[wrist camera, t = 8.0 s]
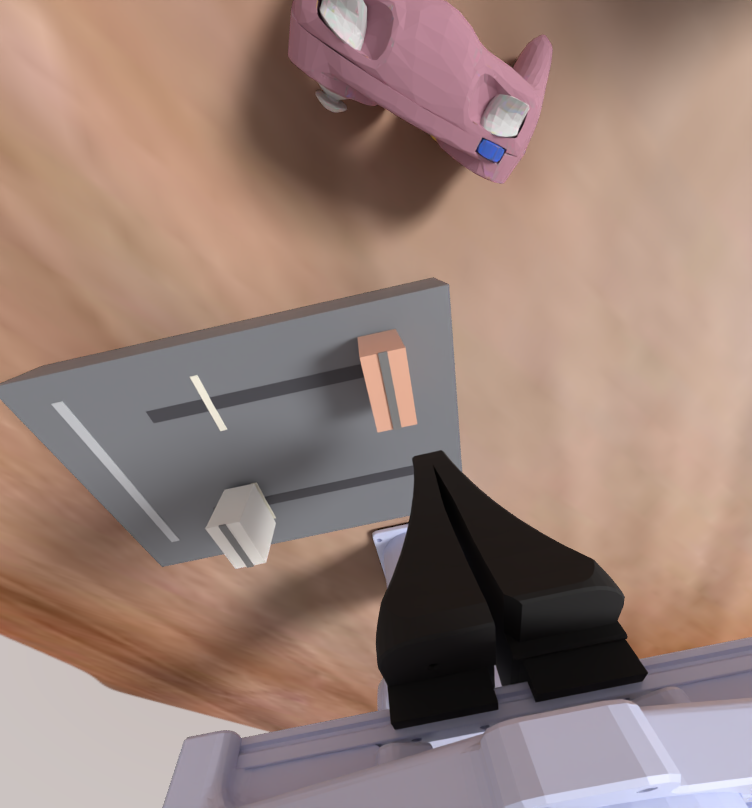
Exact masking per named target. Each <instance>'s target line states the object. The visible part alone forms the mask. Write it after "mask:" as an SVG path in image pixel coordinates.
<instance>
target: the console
mask: <svg viewBox="0 0 752 808" xmlns="http://www.w3.org/2000/svg"><path fill="white" fill-rule="evenodd" d="M392 329H396V331H397V333H398V334H399V336H400V338H401V340H402V342H403V344H404V346H405V348H406V354H407V360H408V367H409V373H410V380H411V386H412V393H413V399H414V406H415V412H416V418H417V424H416V425H411V426H406V427H402V429H398V430H394V429H392V430H388V431H383V432H377V428H376V424H375V420H374V416H373V411H372V407H371V403H370V399H369V395H368V391H367V387H366V382H365V378H364V374H363V370H362V366H361V362H360V357H359V348H358V338H357V337H361V336H365V335H370V334H374V333H379V332H383V331H388V330H392ZM0 399H1V400H2V401H3V402H4V403H5V404H6V406H7V407H8V408H9V409H10V410H11V411H12V412H13V413H14V414H15V415H16V416H17V417H18V418H19V419H20V420H21V421H22V422H23V423H24V424H25V425H26V426H27V427H28V428H29V429H30V430H31V431H32V432H33V434H34V435H35V436H36V437H37V438H38V439H39V440H40V441H41V442H42V443H43V444H44V445H45V446H46V447H47V448H48V449H49V450H50V451H51V452H52V453H53V454H54V455H55V456H56V457H57V458H58V459H59V460H60V461H61V463H62V464H63V465H64V466H65V467H66V468H67V469H68V470H69V471H70V472H71V473H72V474H73V475H74V476H75V477H76V478H77V479H78V480H79V481H80V482H81V483H82V484H83V485H84V486H85V487H86V488H87V489H88V491H89V492H90V493H91V494H92V495H93V496H94V497H95V498H96V499H97V500H98V501H99V502H100V503H101V504H102V505H103V506H104V507H105V508H106V509H107V510H108V511H109V512H110V513H111V514H112V515H113V516H114V517H115V519H116V520H117V521H118V522H119V523H120V524H121V525H122V526H123V527H124V528H125V529H126V530H127V531H128V532H129V533H130V534H131V535H132V536H133V537H134V538H135V539H136V540H137V541H138V542H139V543H140V544H141V545H142V547H143V548H144V549H145V550H146V551H147V552H148V553H149V554H150V555H151V556H152V557H153V558H154V559H155V560H156V561H157V562H158V563H159V564H160V565H161V566H162V567H164V566H169V565H174V564H178V563H183V562H188V561H193V560H198V559H203V558H207V557H212V556H217V555H222V554H224V553H223V552H222V550H221V549H220V548H219V546H218V545H217V544H216V542H215V541H214V540H213V538H212V537H211V536H210V534H209V533H208V532H207V530H206V529H205V528H206V526H207V524H208V522H209V520H210V518H211V516H212V514H213V512H214V510H215V508H216V506H217V504H218V502H219V500H220V498H221V496H222V494H223V492H224V490H225V489H230V488H235V487H240V486H244V485H249V484H254V485H255V486H256V488H257V490H258V492H259V494H260V495H261V497H262V499H263V501H264V503H265V504H266V506H267V508H268V510H269V511H270V513H271V515H272V517H273V519H274V520H275V522H276V525H275V529H274V533H273V537H272V541H271V544H275V543H280V542H285V541H289V540H294V539H299V538H304V537H309V536H313V535H318V534H323V533H328V532H333V531H338V530H342V529H347V528H352V527H357V526H362V525H366V524H371V523H376V522H381V521H386V520H391V519H395V518H400V517H405V516H410V513H411V506H412V499H413V488H414V467H413V462H412V458H413V457H414V456H417V455H421V454H426V453H430V452H435V451H439V450H442V451H444V452H445V454H446V455H447V456H448V457H449V459H450V460H451V461H452V462H453V463H454V464H455V465H456V466H457V468H458V469H459V470H460V471H461V472H462V463H461V449H460V435H459V420H458V406H457V392H456V377H455V363H454V349H453V334H452V320H451V306H450V292H449V284H447V283H445V282H443V281H440V280H438V279H436V278H434V277H433V278H429V279H425V280H420V281H416V282H411V283H407V284H402V285H398V286H394V287H389V288H385V289H380V290H376V291H371V292H367V293H363V294H358V295H354V296H349V297H345V298H341V299H336V300H332V301H327V302H323V303H318V304H314V305H310V306H305V307H301V308H296V309H292V310H287V311H283V312H279V313H274V314H270V315H265V316H261V317H256V318H252V319H248V320H243V321H239V322H234V323H230V324H226V325H221V326H217V327H212V328H208V329H203V330H199V331H195V332H190V333H186V334H181V335H177V336H172V337H168V338H164V339H159V340H155V341H150V342H146V343H141V344H137V345H133V346H128V347H124V348H119V349H115V350H110V351H106V352H102V353H97V354H93V355H88V356H84V357H80V358H75V359H71V360H66V361H62V362H57V363H53V364H49V365H44V366H41V367H38V368H36V369H34V370H31V371H29V372H26V373H24V374H22V375H19V376H17V377H14V378H12V379H10V380H7V381H5V382H2V383H0Z"/></svg>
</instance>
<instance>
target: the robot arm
mask: <svg viewBox="0 0 752 808" xmlns="http://www.w3.org/2000/svg"><path fill="white" fill-rule="evenodd" d="M412 462H413V467H414V488H413V499H412V506H411V513H410V518H409V523H408V524H405V525H400V526H396V527H391V528H386V529H381V530H376V531H374V532H373V533H372V536H373V540H374V544H375V547H376V550H377V553H378V556H379V559H380V562H381V565H382V568H383V571H384V575H385V578H386V584H387V590H386V592H385V595H384V597H383V599H382V602H381V606H380V612H379V617H378V624H377V632H376V652H377V664H378V669H379V670H380V672H381V674H382V676H383V679H382V680H381V682H380V684H379V686H378V711H375V712H370V713H365V714H360V715H355V716H350V717H345V718H340V719H335V720H330V721H325V722H320V723H315V724H310V725H305V726H300V727H295V728H290V729H285V730H279V731H274V732H269V733H264V734H259V735H255V736H249V737H244V738H241V737H240V736H239V735H238V734H237V733H236V732H233V731H227V730H224V731H217V732H212V733H207V734H202V735H196V736H191V737H188V738H187V739H186V740H184V743H183V745H182V749H181V752H180V755H179V758H178V761H177V764H176V767H175V770H174V774H173V776H172V780H171V783H170V786H169V789H168V792H167V795H166V798H165V801H164V804H163V807H162V808H752V637H749V638H744V639H739V640H734V641H729V642H724V643H719V644H714V645H708V646H703V647H698V648H693V649H688V650H683V651H678V652H673V653H668V654H663V655H658V656H653V657H648V658H643V659H639V658H638V657H637V656H636V654H635V653H634V651H633V650H632V648H631V647H630V645H629V644H628V643H627V641H626V640H625V639H627V634H626V632H625V631H624V629H623V628H622V627H621V625H620V624H619V622H618V621H617V620H618V618H619V615H620V613H621V610H622V608H623V605H624V598H625V597H624V595H623V593H622V591H621V590H620V589H619V587H618V586H617V585H616V584H615V582H614V581H613V580H612V579H611V577H610V576H609V575H608V574H607V573H606V572H605V571H604V570H603V569H602V568H601V567H600V566H599V565H598V564H597V562H596V561H595V560H593V559H591V558H589V557H587V556H585V555H583V554H581V553H579V552H577V551H575V550H573V549H571V548H568V547H566V546H564V545H562V544H561V543H559V542H557V541H555V540H553V539H552V538H550V537H548V536H546V535H544V534H543V533H541V532H539V531H538V530H536V529H535V528H533V527H531V526H530V525H528V524H526V523H525V522H523V521H521V520H520V519H518V518H517V517H516V516H514V515H513V514H511V513H510V512H508V511H507V510H506V509H504V508H503V507H501V506H500V505H499V504H497V503H496V502H495V501H494V500H492V499H491V498H490V497H489V496H487V495H486V494H485V493H484V492H483V491H482V490H480V489H479V488H478V487H477V486H476V485H475V484H474V483H473V482H472V481H471V480H469V479H468V478H467V477H466V476H465V475H464V474H463V473H462V472H461V471H460V470H459V469H458V468H457V466H456V465H455V464H454V463H453V462H452V461H451V460H450V459H449V457H448V456H447V455H446V454H445V452H444V451H442V450H439V451H435V452H430V453H426V454H421V455H417V456H414V457H413V458H412Z"/></svg>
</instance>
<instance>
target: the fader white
mask: <svg viewBox="0 0 752 808" xmlns="http://www.w3.org/2000/svg"><path fill="white" fill-rule="evenodd" d="M275 525H276V522H275V520H274V519H273V517H272V515H271V513H270V511H269V510H268V508H267V506H266V504H265V503H264V501H263V499H262V497H261V495H260V494H259V492H258V490H257V488H256V486H255V485H254V484H249V485H244V486H240V487H235V488H230V489H225V490H224V492H223V494H222V496H221V498H220V500H219V502H218V504H217V506H216V508H215V510H214V512H213V514H212V516H211V518H210V520H209V522H208V524H207V526H206V528H205V529H206V530H207V532H208V533H209V534H210V536H211V537H212V538H213V540H214V541H215V542H216V544H217V545H218V546H219V548H220V549H221V550H222V552H223V553H224V554H225V556H226V557H227V558H228V560H229V561H230V562H231V563H232V565H233V566H234V567H235V569H238V568H242V567H247V568H248V567H253V566H254V565H257V564H262V563H266V561H267V557H268V553H269V549H270V545H271V541H272V537H273V533H274V529H275Z"/></svg>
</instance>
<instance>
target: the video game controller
mask: <svg viewBox="0 0 752 808" xmlns="http://www.w3.org/2000/svg"><path fill="white" fill-rule="evenodd" d="M552 51H553V50H552V44H551V43H550V41H549V39H548V38H547V37H546V36H545V35H540V36H538V37H536V38H534V39H533V40H532V41H531V42H529V43H528V44H527V45H526V47H525V48H524V50H523V51H522V53H521V54H520V56H519V57H518V59H517V61H516V63H515V65H514V67H513V68H512V67H510V66H509V65H508V64H506V63H505V62H503V61H502V60H500V59H499V58H498V57H496V56H495V55H493V54H492V53H490V52H489V51H488V50H487V49H486V48H485V47H484V46H483V44H482V43H481V42H480V41H479V39H478V37H477V35H476V33H475V31H474V30H473V28H472V26H471V25H470V24H469V23H468V21H467V20H466V19H465V17H464V16H463V15H462V14H461V12H460V11H458V10H457V9H456V8H454V7H453V6H452V5H451V4H449V3H448V2H447V1H443V0H293V3H292V8H291V18H290V32H289V47H288V57H289V59H290V60H291V62H292V63H294V64H295V65H296V66H297V67H298V68H300V69H301V70H302V71H303V72H304V73H306V74H307V75H308V76H309V77H311V78H312V79H314V80H315V81H316V82H318V83H319V85H320V87H321V88H322V89H323V90H324V92H323V91H320V90H319V91H316V93H315V94H316V96H317V98H318V99H319V101H320V102H321V103H322V105H323V106H324V107H325V108H326V109H328V110H330V111H332V112H336V113H337V112H342V111H343V112H344V111H346V110H347V106H346V105H345V104H344V103H343V102H342V101H341V100H343V99H352V100H355V101H357V102H360V103H363V104H366V105H370V106H376V105H380V106H382V107H383V108H385V109H387V110H388V111H390V112H392V113H393V114H395V115H397V116H398V117H400V118H402V119H403V120H405V121H407V122H408V123H410V124H412V125H413V126H415V127H417V128H419V129H421V130H422V131H424V132H426V133H428V134H430V136H431V137H432V138H433V139H434V140H435V141H437V142H438V144H439V146H440V147H441V148H442V149H443V150H444V151H445V152H447V153H448V154H449V155H450V156H451V157H452V158H453V159H455V160H456V161H457V162H459V163H460V164H462V165H463V166H465V167H466V168H467V169H469V170H471V171H472V172H474V173H475V174H477V175H479V176H481V177H483V178H485V179H487V180H490V181H493V182H496V183H504V182H505V181H506V180H507V178H508V177H509V175H510V174H511V172H512V171H513V169H514V168H515V167H516V165H517V164H518V162H519V161H520V159H521V158H522V157H523V155H524V154H525V151H526V148H527V145H528V143H529V141H530V139H531V137H532V135H533V132H534V130H535V127H536V125H537V122H538V119H539V116H540V113H541V108H542V103H543V98H544V94H545V89H546V84H547V80H548V75H549V71H550V66H551V60H552Z"/></svg>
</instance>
